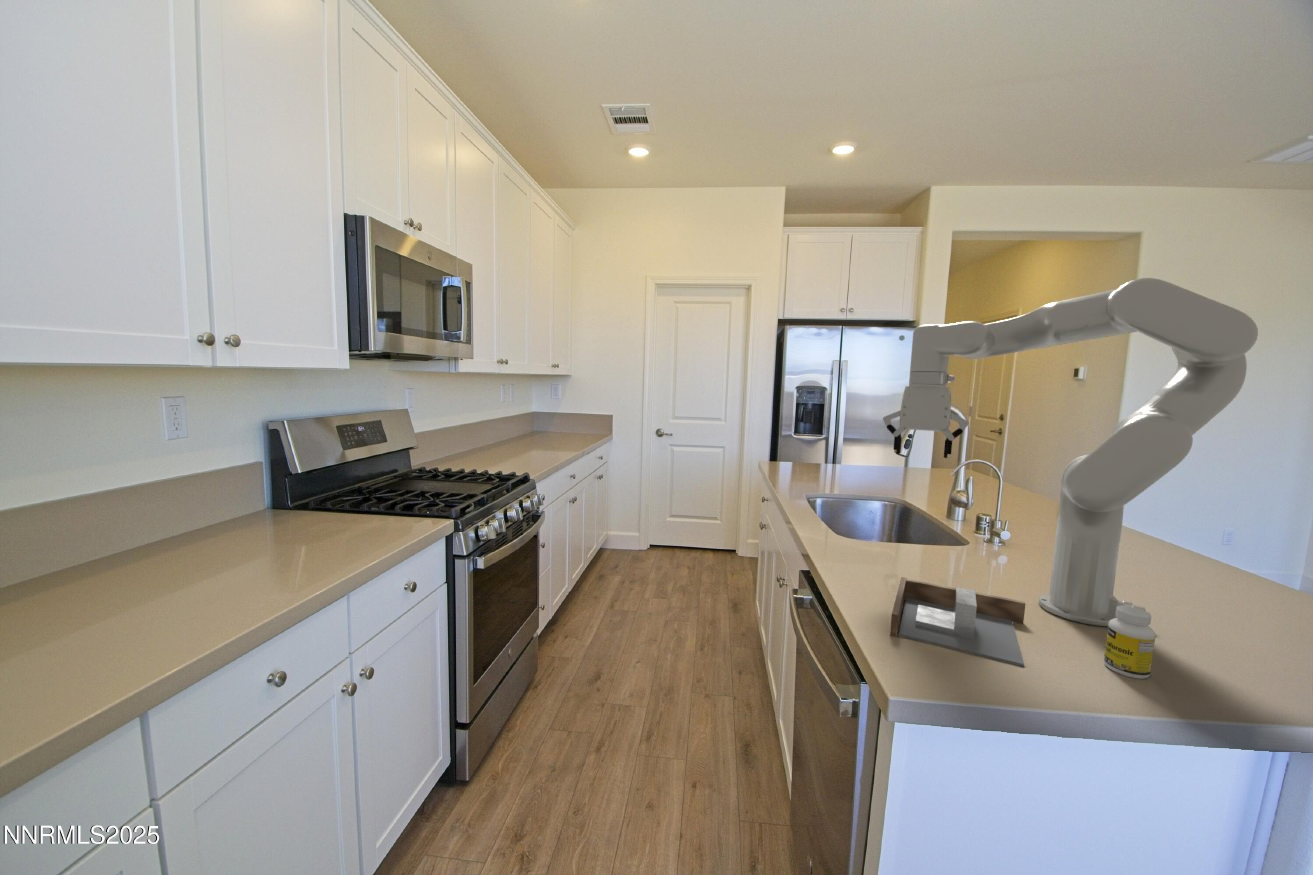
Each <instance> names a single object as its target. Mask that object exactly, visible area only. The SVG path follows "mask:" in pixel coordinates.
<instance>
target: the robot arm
mask: <svg viewBox="0 0 1313 875" xmlns="http://www.w3.org/2000/svg"><path fill="white" fill-rule="evenodd" d="M1131 333H1132V334H1133V333H1141V334H1143V335H1145V336H1146V337H1149V338H1151V339H1153V340H1155V341H1157V342H1159V343H1161V344H1164V345H1167V346H1168V347H1170V348H1171V350H1172V352H1173V354H1174V355H1175V358H1176V360H1177V367H1176V371H1175V373H1174V374H1173V376H1172V377H1171V378H1170V380H1168V381H1167V382H1166V383H1165V384H1164V385H1163V386H1162V387H1160V389H1159V390H1157V392H1155V393H1154V394H1153V395H1152V396H1151V397H1150V398H1149V399H1147V400H1146V401H1145V402H1144V403H1143V404H1142V405H1140V406H1138V407H1137V409H1135V410H1134V411H1133V412H1132V413H1130V414H1129V415H1127V416H1126V417H1124V418H1122V419H1121V420H1120V421H1119V422H1118V423H1117V425H1115V427H1114V428H1113V431H1112V433H1111V435H1109V437H1107V438H1106V439H1105V440H1104V441H1103V442H1101V443H1100V444H1099V445H1098V446H1097V447H1096V448H1094V449H1093V450H1092V451H1091V452H1090V453H1089V454H1084V455H1081V456H1077V457H1075V458H1074V459H1072V460H1070V461H1069V463H1067V465H1066V466H1065V467H1064V469H1063V471H1062V475H1061V479H1060V492H1059V493H1060V494H1059V506H1058V516H1057V524H1056V525H1057V526H1056V532H1055V540H1054V541H1055V542H1054V547H1053V557H1052V564H1051V565H1052V569H1051V576H1050V583H1049V593H1046V594H1045V593H1044V594H1041V595H1040V596H1038V604H1039V606H1040V607H1041V608H1043V609H1044V610H1046V611H1048V612H1049V613H1051V614H1053V615H1055V616H1058V617H1061V618H1063V619H1067V620H1069V621H1074V622H1077V623H1082V624H1086V625H1091V626H1099V627H1108V624H1109V621H1110V620H1112V619H1114V618H1117V617H1116V608H1117V606H1130V607H1135V608H1138V609H1142V610H1144V611H1146V612H1147V610H1146V606H1140V605H1134V604H1133V602H1132V601H1126V600H1119V599H1117V598H1116V596H1115V595H1114V590H1115V584H1116V574H1117V566H1118V559H1119V552H1120V543H1121V538H1122V530H1123V518H1124V508H1125V507H1124V506H1126V505H1127V504H1128V503H1129V502H1131V501H1133V500H1134V499H1136V498H1137V497H1138V496H1140V494H1142V493H1144V491H1146V490H1147V489H1148V488H1150V487H1151V486H1153V485H1154V484H1155V483H1157V482H1158V481H1159V480H1160V479H1162V478H1164V476H1166V475H1167V474H1168V473H1170V471H1172V470H1173V469H1174V468H1176V467H1177V466H1179V464H1180V463H1181V462H1182V461H1184V459H1185V458H1186V457H1187V456H1188V454H1189V452H1191V449H1192V446H1193V440H1194V439H1193V435H1195V434H1196V433H1197V432H1198V431H1200V430H1201V429H1202V428H1203V427H1205V426H1206V425H1207V424H1208V423H1209V422H1210V421H1211V420H1212V419H1214V417H1216V416H1217V415H1219V413H1221V412H1222V411H1223V410H1224V409H1225V408H1226V407H1227V406H1228V405H1229V404H1230V403H1231V402H1232V401H1234V399H1235V398H1236V397H1237V395H1238V394H1239V393H1240V392H1241V389H1242V387H1243V386H1244V383H1245V381H1246V380H1245V379H1246V375H1247V367H1248V366H1247V359H1246V358H1247V357H1246V354H1247V353H1248V352H1249V351H1250V350H1251V349H1252V348H1253V347H1254V346H1255V344H1256V341H1257V340H1258V337H1259V335H1258V334H1259V329H1258V326H1257V324H1256V322H1255V321H1254V319H1253V318H1252V317H1251V316H1249V315H1248V313H1247V314H1246V313H1244V312H1243V311H1241V310H1239V309H1237V308H1234V307H1232V306H1229V305H1227V304H1225V303H1221V302H1220V301H1217V300H1214V299H1211V298H1208V297H1206V296H1203V295H1201V294H1200V293H1197V292H1194V291H1191V290H1189V289H1186V288H1184V287H1181V286H1180V285H1179V286H1178V285H1177V284H1174V283H1171V282H1168V281H1166V280H1163V279H1159V278H1154V277H1141V278H1136V279H1133V280H1130V281H1128V282H1125V283H1124V284H1122V285H1120V286H1119V287H1118V288H1115V289H1110V290H1105V291H1101V292H1097V293H1091V294H1088V295H1082V296H1078V297H1073V298H1068V299H1063V300H1060V301H1058V300H1057V301H1054V302H1050V303H1047V304H1044V305H1041V306H1040V307H1038V308H1036V309H1034V310H1032V311H1030V312H1028V313H1025V314H1022V315H1019V316H1015V317H1012V318H1009V319H1008V318H1007V319H1004V320H999V321H996V322H995V321H994V322H990V323H982V322H980V321H976V320H967V321H961V322H956V323H949V324H948V323H947V324H941V323H934V324H933V323H931V324H930V323H929V324H922V325H918V326H916V327H915V328H914V329H913V332H912V341H911V343H912V344H911V356H910V366H909V368H910V369H909V380H908V385H907V386H906V385H905V387H904V390H903V395H902V399H901V406H900V410H898V411H895V412H893V413H890V414H888V415H885V416H883V418H882V421H883V422H884V424H885V426H886V429H887V430H888V431H889V432H890V433H891V435H892V436H893V439H894V440H893V450H894V451H896V452H895V454H896V455H899V454H901V453H902V441H903V440H902V439H903V437H902V433H903V432H904V431H905V430H914V431H915V430H916V431H926V432H927V431H929V432H941V433H943V435H944V436H945V437H946V439H944V447H943V458H944V459H948V455H952V449H953V441H954V440H955V439H957V437H959V436H960V435H961V434H963V433H964V431H965V429H966V428H967V427H968V426H969V425H970V424H969V421H968V420H967V419H965V418H963V417H961V416H960V415H959V416H958V415H956V414H955V413H953V412H952V392H951V387H950V386H949V387H948V386H947V384H949V383H951V382H953V383H954V382H955V375H951V374H948V371H949V360H950V356H954V357H962V358H965V359H967V360H980V359H985V358H991V357H997V356H1003V355H1008V354H1015V353H1019V352H1024V351H1025V352H1026V351H1030V350H1036V349H1037V350H1038V349H1047V348H1051V347H1057V346H1061V345H1067V344H1073V343H1078V342H1084V341H1090V340H1095V339H1100V338H1109V337H1113V336H1114V337H1115V336H1120V335H1128V334H1131ZM898 417H899V427H898V428H896V427H895V426H894V425H893V424H892V420H893V419H896V418H898ZM951 420H953V421H954V422H956V423H958V424H959V426H958V427H957V429H955V430H954V431H953V432H951V430H949V428H950V425H951Z"/></svg>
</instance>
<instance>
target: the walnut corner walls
mask: <svg viewBox="0 0 1313 875" xmlns="http://www.w3.org/2000/svg"><path fill="white" fill-rule="evenodd" d="M975 594H976V604H977V609H976V613H980V614H985V615H990V616H994V617H999V618H1004V619H1009V620H1012V622H1013V623H1017V624H1019V625H1020V624H1021V625H1024V620H1025V612H1026V611H1025V610H1026V602H1025V601H1022V600H1017V599H1012V598H1007V597H1002V596H997V595H993V594H988V593H987V594H986V593H982V592H977V591H975ZM955 596H956V588H955V587H950V586H946V585H942V584H935V583H932V582H931V583H930V582H925V581H920V580H914V579H909V578H907V577H903V576H901V578H900V581H899V584H898V589H897V592H896V596H895V600H894V603H893V607H892V611H891V616H890V617H891V618H890V630H889V631H890V633H889V636H890V637H894V638H897V635H898V632H899V628H900V623H901V622H900V621H901V618H902V617H901V616H902V614H903V609H904V605H905V600H906V598H909V599H914V600H919V601H923V602H928V603H933V604H938V605H942V606H947V607H952V608H954V607H955Z"/></svg>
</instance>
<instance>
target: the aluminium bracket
mask: <svg viewBox="0 0 1313 875" xmlns="http://www.w3.org/2000/svg"><path fill="white" fill-rule="evenodd" d="M975 592H976V590H973V589H967V588H963V587H957V586H956V596H955V607H954V612H949V611H945V610H940V609H936V608H931V607H927V606H922V605H918V610H917V616H916V623H915V626H918V627H922V628H927V629H931V630H935V631H939V632H944V633H948V634H952V635H956V636H960V637H965V638H969V639H974V629H975V619H976V609H977V604H976V594H975Z"/></svg>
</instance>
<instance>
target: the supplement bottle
mask: <svg viewBox="0 0 1313 875" xmlns="http://www.w3.org/2000/svg"><path fill="white" fill-rule="evenodd" d="M1116 617H1117V618H1114V619H1112V620H1110V621H1109V624H1108V626H1107V632H1106V639H1105V649H1104V654H1103V655H1104V656H1103V663H1104V665H1105V666H1106V667H1107V668H1109V669H1110V670H1111V671H1113V672H1114V673H1118V674H1120V675H1122V676H1124V677H1129V678H1133V679H1141V680H1143V679H1147V678H1149V677H1150V675H1151V671H1152V663H1153V657H1154V655H1153V654H1154V648H1155V641H1156V632H1155V630H1154V629H1153V628H1152V627H1150V625H1151V622H1152V614H1151V613H1150V612H1148V611H1147V610H1146V611H1144V610H1142V609H1138V608H1135V607H1130V606H1117V608H1116Z"/></svg>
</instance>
